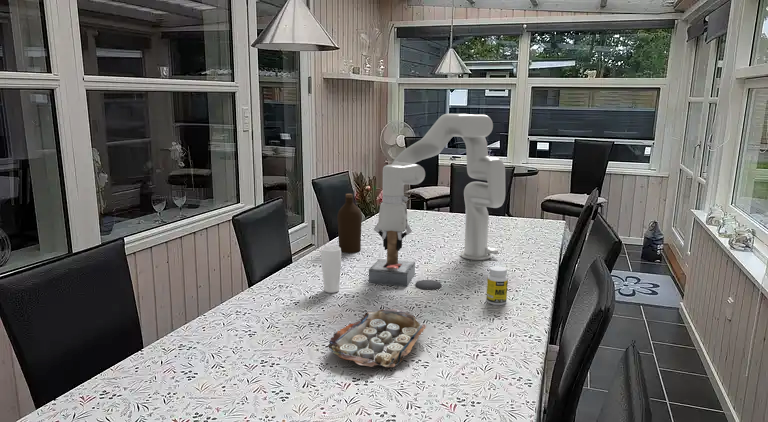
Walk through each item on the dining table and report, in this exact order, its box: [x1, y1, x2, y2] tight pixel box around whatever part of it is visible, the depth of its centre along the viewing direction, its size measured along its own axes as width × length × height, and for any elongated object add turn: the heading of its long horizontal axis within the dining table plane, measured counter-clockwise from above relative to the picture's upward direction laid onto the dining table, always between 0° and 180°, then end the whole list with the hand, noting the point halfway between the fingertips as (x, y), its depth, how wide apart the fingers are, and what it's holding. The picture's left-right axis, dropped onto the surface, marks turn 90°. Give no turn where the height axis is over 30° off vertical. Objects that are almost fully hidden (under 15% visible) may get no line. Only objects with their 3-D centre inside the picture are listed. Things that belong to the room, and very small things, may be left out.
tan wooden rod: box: [386, 230, 399, 265], centre depth 191 cm, size 4×4×16 cm
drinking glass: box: [320, 245, 342, 294], centre depth 179 cm, size 7×7×15 cm
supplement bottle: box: [485, 265, 509, 306], centre depth 170 cm, size 6×6×11 cm
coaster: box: [415, 279, 442, 291], centre depth 186 cm, size 9×9×1 cm
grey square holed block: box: [368, 258, 416, 287], centre depth 193 cm, size 14×14×5 cm
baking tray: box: [327, 308, 427, 369], centre depth 138 cm, size 30×22×5 cm
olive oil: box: [336, 193, 363, 254], centre depth 229 cm, size 11×11×25 cm
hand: (392, 249), depth 191 cm, fingers closed on tan wooden rod, 4 cm apart
